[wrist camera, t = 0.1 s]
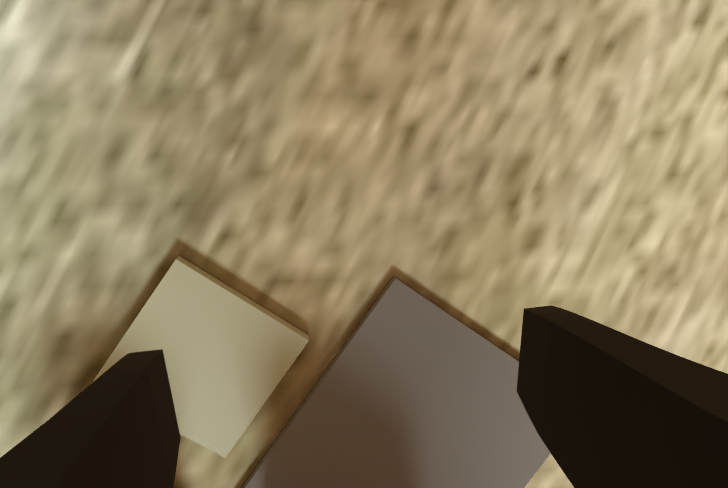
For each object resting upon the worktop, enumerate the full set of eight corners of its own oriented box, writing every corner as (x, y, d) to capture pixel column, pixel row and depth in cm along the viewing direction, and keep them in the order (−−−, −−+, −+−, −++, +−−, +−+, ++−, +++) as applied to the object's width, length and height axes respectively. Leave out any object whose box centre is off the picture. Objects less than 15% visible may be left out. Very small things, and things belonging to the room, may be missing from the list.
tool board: (227, 449, 21) (225, 458, 21) (94, 379, 20) (89, 386, 19) (308, 335, 21) (309, 340, 20) (179, 255, 19) (175, 259, 19)
